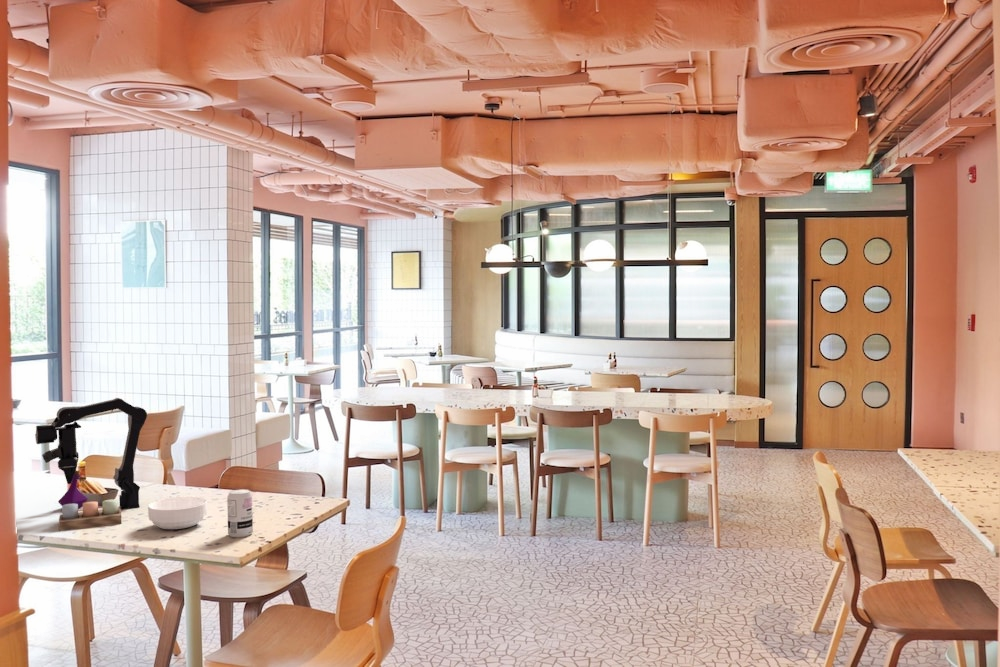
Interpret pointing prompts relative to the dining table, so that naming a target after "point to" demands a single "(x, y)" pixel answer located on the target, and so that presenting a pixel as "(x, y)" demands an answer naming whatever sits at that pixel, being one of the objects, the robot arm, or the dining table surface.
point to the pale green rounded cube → (110, 507)
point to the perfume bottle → (73, 493)
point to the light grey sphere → (70, 511)
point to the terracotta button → (90, 509)
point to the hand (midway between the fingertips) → (69, 481)
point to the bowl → (177, 512)
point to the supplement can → (240, 513)
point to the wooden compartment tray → (89, 521)
